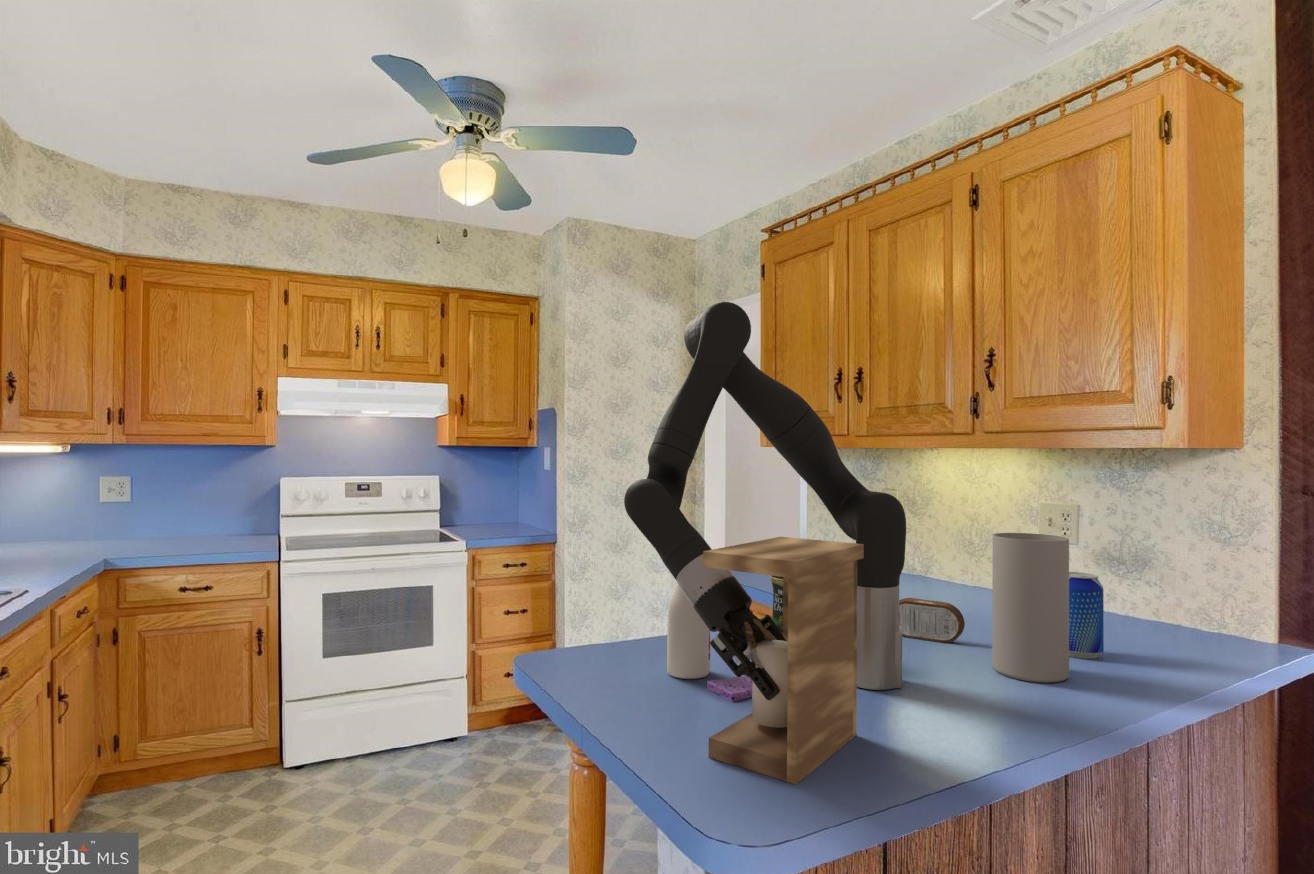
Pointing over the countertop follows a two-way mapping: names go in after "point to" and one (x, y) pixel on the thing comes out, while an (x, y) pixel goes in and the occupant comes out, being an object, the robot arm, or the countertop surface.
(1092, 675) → the countertop surface
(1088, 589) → the beer can
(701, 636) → the milk bottle
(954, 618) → the tin
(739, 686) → the sponges
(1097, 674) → the countertop surface
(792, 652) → the wooden c-shaped stand
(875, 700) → the countertop surface
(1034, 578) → the cylinder vase
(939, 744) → the countertop surface
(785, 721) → the candle
